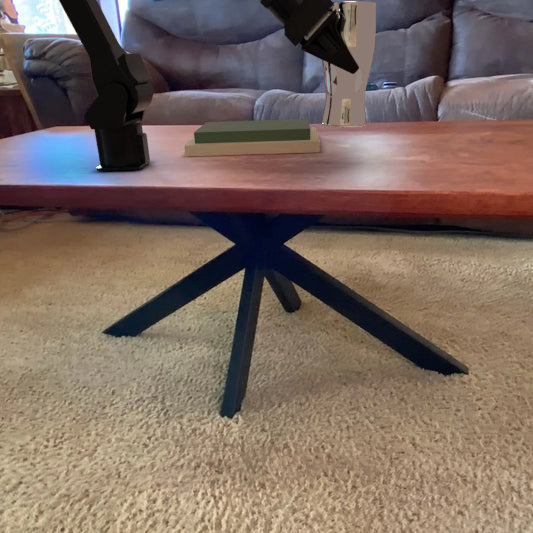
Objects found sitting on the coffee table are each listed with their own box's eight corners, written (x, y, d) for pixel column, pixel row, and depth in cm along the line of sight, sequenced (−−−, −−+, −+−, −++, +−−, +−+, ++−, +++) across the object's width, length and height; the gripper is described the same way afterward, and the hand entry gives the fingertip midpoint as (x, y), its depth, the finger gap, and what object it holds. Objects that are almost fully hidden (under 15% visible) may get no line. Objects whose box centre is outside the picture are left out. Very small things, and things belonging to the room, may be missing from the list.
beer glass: (364, 121, 74) (373, 6, 68) (372, 128, 67) (382, 0, 62) (316, 121, 74) (321, 6, 68) (320, 127, 68) (325, 0, 62)
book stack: (185, 156, 83) (183, 134, 82) (201, 140, 98) (199, 121, 97) (320, 152, 82) (320, 129, 81) (315, 136, 97) (315, 117, 96)
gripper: (314, -96, 54) (412, 17, 56) (320, -61, 71) (395, 24, 73) (243, -8, 58) (338, 93, 61) (265, 4, 75) (338, 83, 78)
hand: (355, 70), depth 68 cm, fingers closed on beer glass, 6 cm apart
